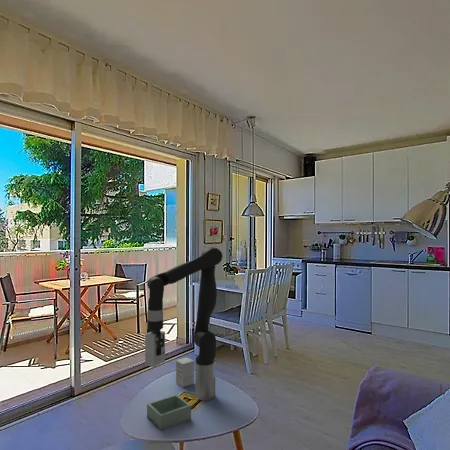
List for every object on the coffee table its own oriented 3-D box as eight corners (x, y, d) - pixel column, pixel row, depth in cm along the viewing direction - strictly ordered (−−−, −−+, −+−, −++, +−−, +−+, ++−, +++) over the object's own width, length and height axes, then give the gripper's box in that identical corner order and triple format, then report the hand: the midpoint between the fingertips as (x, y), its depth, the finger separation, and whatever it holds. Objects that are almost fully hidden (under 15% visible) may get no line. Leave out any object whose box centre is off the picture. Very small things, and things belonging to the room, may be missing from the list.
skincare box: (153, 367, 161) (154, 335, 161) (144, 365, 164) (144, 333, 164) (165, 361, 168) (165, 331, 168) (156, 359, 171) (156, 329, 171)
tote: (176, 407, 164) (176, 394, 164) (190, 418, 153) (191, 405, 153) (146, 417, 154) (147, 403, 155) (160, 430, 144) (160, 416, 144)
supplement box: (186, 379, 194) (187, 356, 195) (194, 383, 189) (194, 360, 189) (175, 383, 190) (175, 359, 190) (182, 387, 184) (183, 363, 184)
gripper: (169, 320, 163) (169, 355, 162) (155, 314, 174) (155, 347, 174) (154, 323, 158) (154, 359, 158) (141, 316, 170) (141, 350, 169)
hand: (155, 353), depth 166 cm, fingers closed on skincare box, 7 cm apart
